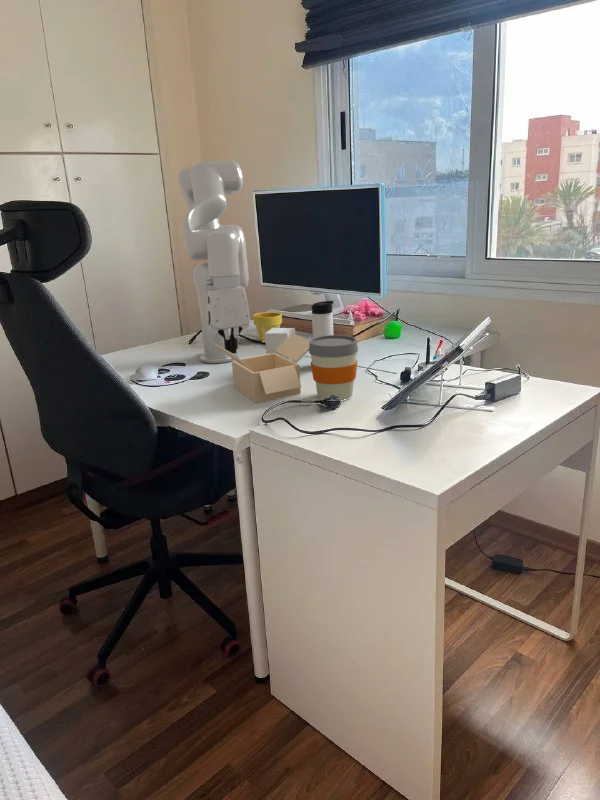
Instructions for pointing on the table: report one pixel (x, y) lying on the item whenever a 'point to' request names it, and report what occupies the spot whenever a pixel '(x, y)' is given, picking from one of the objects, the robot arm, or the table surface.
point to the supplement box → (277, 340)
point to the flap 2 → (294, 347)
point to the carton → (266, 377)
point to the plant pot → (266, 322)
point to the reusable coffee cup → (334, 365)
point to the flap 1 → (232, 356)
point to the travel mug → (322, 319)
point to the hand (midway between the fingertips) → (231, 352)
